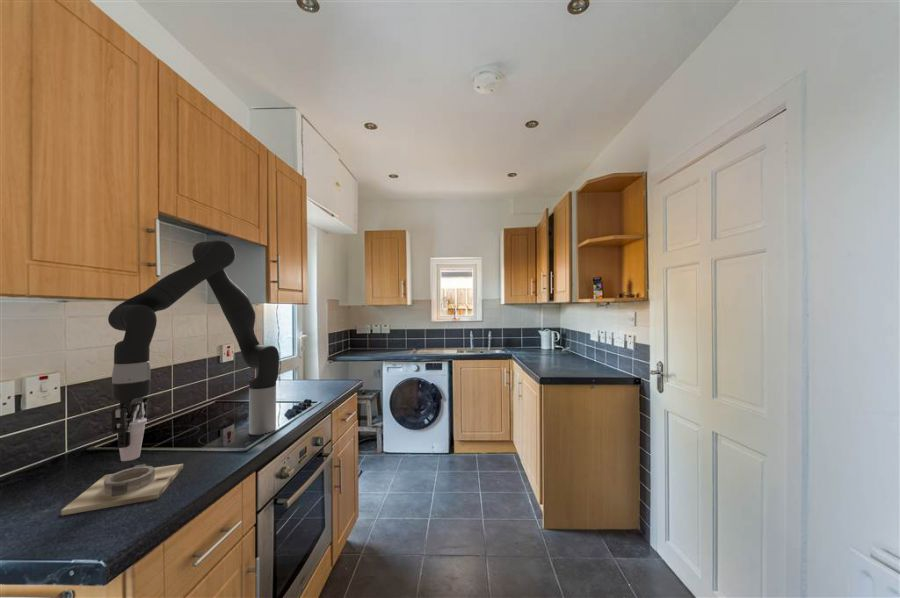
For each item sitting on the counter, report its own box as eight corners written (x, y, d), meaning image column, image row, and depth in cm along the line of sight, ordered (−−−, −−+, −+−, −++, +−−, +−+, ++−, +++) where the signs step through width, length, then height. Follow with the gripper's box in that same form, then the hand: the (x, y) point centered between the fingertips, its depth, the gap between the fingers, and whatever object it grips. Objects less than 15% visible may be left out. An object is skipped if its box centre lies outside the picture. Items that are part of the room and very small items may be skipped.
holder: (105, 479, 96) (105, 466, 96) (183, 467, 102) (183, 455, 103) (61, 515, 79) (61, 499, 79) (157, 498, 86) (158, 483, 86)
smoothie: (126, 464, 87) (127, 409, 88) (106, 462, 89) (107, 407, 89) (152, 453, 94) (153, 402, 94) (134, 452, 95) (135, 401, 95)
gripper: (136, 383, 86) (135, 450, 86) (160, 373, 100) (159, 431, 99) (97, 386, 83) (96, 455, 83) (127, 375, 97) (126, 435, 96)
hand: (130, 442), depth 91 cm, fingers closed on smoothie, 6 cm apart
